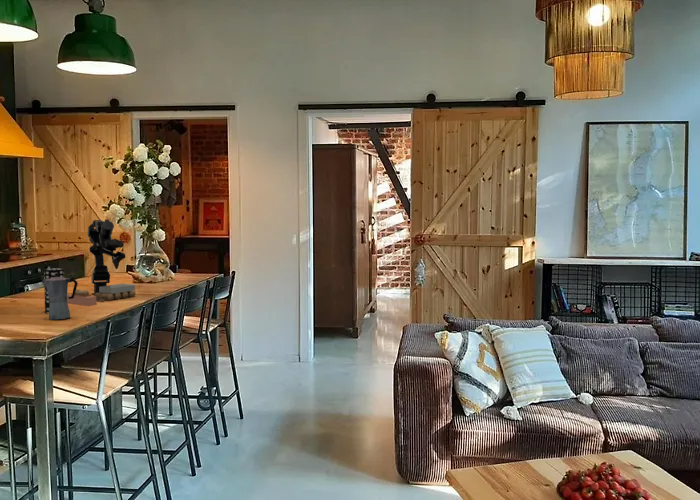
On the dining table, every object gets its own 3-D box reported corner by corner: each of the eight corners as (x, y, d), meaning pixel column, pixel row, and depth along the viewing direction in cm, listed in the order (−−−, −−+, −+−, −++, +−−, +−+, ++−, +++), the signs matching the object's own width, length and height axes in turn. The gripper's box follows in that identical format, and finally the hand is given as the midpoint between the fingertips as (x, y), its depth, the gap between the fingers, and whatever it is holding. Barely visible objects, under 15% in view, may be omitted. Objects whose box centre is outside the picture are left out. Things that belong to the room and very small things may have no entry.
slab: (99, 292, 344) (99, 286, 344) (122, 288, 358) (122, 283, 358) (111, 293, 340) (111, 288, 339) (134, 290, 354) (134, 284, 354)
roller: (72, 295, 328) (72, 289, 328) (77, 294, 331) (77, 288, 331) (84, 296, 325) (84, 290, 325) (89, 296, 327) (89, 290, 327)
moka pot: (46, 316, 293) (45, 271, 292) (82, 316, 295) (81, 272, 293) (38, 320, 284) (37, 274, 282) (75, 320, 285) (74, 274, 284)
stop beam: (65, 303, 330) (65, 294, 329) (74, 301, 334) (73, 292, 334) (88, 305, 322) (88, 296, 322) (96, 304, 327) (96, 295, 326)
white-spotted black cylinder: (68, 311, 307) (67, 268, 305) (55, 314, 299) (54, 270, 297) (54, 310, 309) (53, 267, 308) (40, 312, 302) (39, 269, 300)
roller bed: (78, 302, 333) (78, 295, 333) (121, 295, 358) (121, 288, 358) (92, 303, 329) (92, 297, 328) (135, 296, 354) (135, 290, 353)
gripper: (102, 227, 332) (106, 252, 324) (130, 239, 347) (135, 263, 339) (87, 238, 335) (90, 263, 327) (115, 250, 350) (119, 274, 343)
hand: (109, 266), depth 334 cm, fingers open, 9 cm apart
